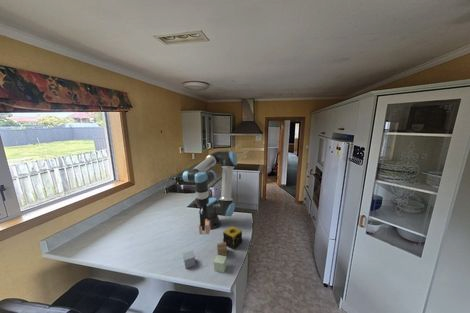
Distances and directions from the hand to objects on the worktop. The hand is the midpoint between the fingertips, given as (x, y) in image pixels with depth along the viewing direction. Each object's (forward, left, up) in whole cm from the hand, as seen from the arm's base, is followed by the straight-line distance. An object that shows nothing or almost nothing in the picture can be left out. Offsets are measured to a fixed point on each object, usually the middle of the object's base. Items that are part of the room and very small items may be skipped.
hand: (205, 230), depth 115 cm
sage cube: (+10, +10, -18) cm, 23 cm away
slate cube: (+6, -10, -18) cm, 22 cm away
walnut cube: (-2, +10, -18) cm, 21 cm away
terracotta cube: (0, 0, 0) cm, 0 cm away
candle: (-12, +17, -19) cm, 28 cm away
